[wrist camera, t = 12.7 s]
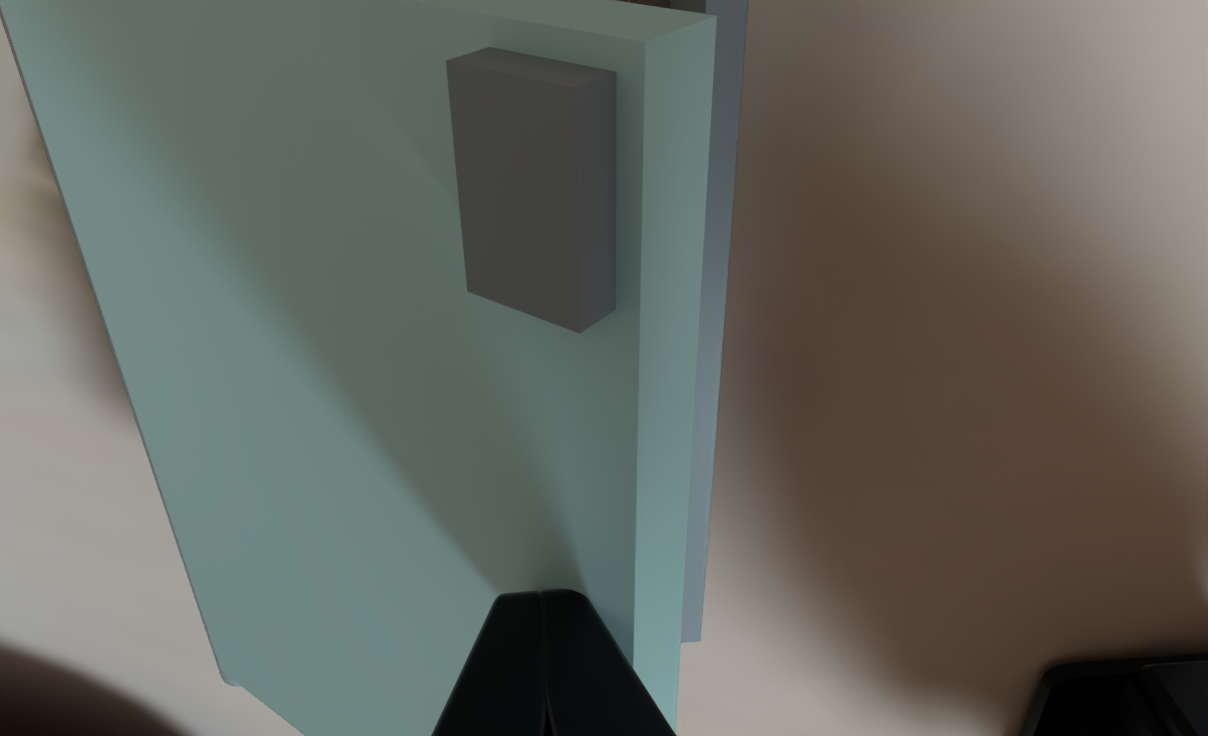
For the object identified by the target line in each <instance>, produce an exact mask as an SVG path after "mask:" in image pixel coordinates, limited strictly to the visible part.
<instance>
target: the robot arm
mask: <svg viewBox="0 0 1208 736" xmlns="http://www.w3.org/2000/svg"><path fill="white" fill-rule="evenodd" d="M431 736H676V734H675V733H674V731H673V729H672V728H671V726H670V725H669V723H668V722H667V720H666V718H665V717H664V715H663V714H662V712H661V711H660V709H659V708H658V706H657V704H656V703H655V701H654V700H653V698H652V697H651V695H650V694H649V692H648V690H647V689H646V687H645V686H644V684H643V683H642V681H641V680H640V678H639V676H638V675H637V673H636V672H635V670H634V669H633V667H632V666H631V664H630V662H629V661H628V659H627V658H626V656H625V655H624V653H623V651H622V650H621V648H620V647H619V645H618V644H617V642H616V641H615V639H614V637H613V636H612V634H611V633H610V631H609V630H608V628H607V627H606V625H605V623H604V622H603V620H602V619H601V617H600V616H599V614H598V613H597V611H596V609H595V608H594V606H593V605H592V603H591V602H590V600H589V599H588V598H587V597H586V596H584V595H583V594H581V593H579V592H577V591H574V590H570V589H564V588H561V589H548V590H542V591H540V592H538V591H524V592H512V593H503V594H500V595H499V596H497V598H496V599H495V600H494V602H493V604H492V606H491V608H490V610H489V612H488V615H487V617H486V619H485V621H484V623H483V625H482V627H481V630H480V632H479V634H478V636H477V638H476V640H475V642H474V644H473V647H472V649H471V651H470V653H469V655H468V657H467V659H466V662H465V664H464V666H463V668H462V670H461V672H460V674H459V677H458V679H457V681H456V683H455V685H454V687H453V689H452V692H451V694H450V696H449V698H448V700H447V702H446V704H445V707H444V709H443V711H442V713H441V715H440V717H439V719H438V722H437V724H436V726H435V728H434V730H433V732H432V734H431ZM1021 736H1208V654H1196V655H1182V656H1167V657H1153V658H1138V659H1124V660H1110V661H1095V662H1081V663H1067V664H1062V665H1058V666H1056V667H1053V668H1051V669H1050V670H1049V671H1047V672H1046V673H1045V674H1044V676H1043V677H1042V679H1041V682H1040V684H1039V687H1038V690H1037V692H1036V695H1035V698H1034V700H1033V703H1032V706H1031V709H1030V711H1029V714H1028V717H1027V719H1026V722H1025V725H1024V727H1023V730H1022V733H1021Z"/></svg>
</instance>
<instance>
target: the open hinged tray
mask: <svg viewBox="0 0 1208 736" xmlns="http://www.w3.org/2000/svg"><path fill="white" fill-rule="evenodd" d="M670 9H676V10H682V11H689V12H696V13H703V14H709V15H716V16H717V23H716V40H715V57H714V75H713V92H712V109H711V126H710V143H709V161H708V178H707V195H706V212H705V230H704V247H703V264H702V281H701V298H700V316H699V333H698V350H697V367H696V385H695V402H694V419H693V436H692V453H691V471H690V488H689V505H688V522H687V539H686V557H685V574H684V591H683V608H682V626H681V643H683V642H698V641H700V640H701V627H702V613H703V600H704V587H705V573H706V560H707V546H708V533H709V520H710V506H711V493H712V479H713V466H714V453H715V439H716V426H717V412H718V399H719V386H720V372H721V359H722V345H723V332H724V319H725V305H726V292H727V278H728V265H729V252H730V238H731V225H732V211H733V198H734V185H735V171H736V158H737V144H738V131H739V118H740V104H741V91H742V77H743V64H744V51H745V37H746V24H747V10H748V0H670Z"/></svg>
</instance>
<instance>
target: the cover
mask: <svg viewBox="0 0 1208 736" xmlns="http://www.w3.org/2000/svg"><path fill="white" fill-rule="evenodd" d="M0 17H1V20H2V22H3V26H4V29H5V32H6V35H7V38H8V41H9V44H10V47H11V50H12V53H13V56H14V59H15V62H16V65H17V68H18V71H19V74H20V77H21V80H22V83H23V86H24V89H25V92H26V95H27V98H28V101H29V104H30V107H31V110H32V113H33V116H34V119H35V122H36V125H37V128H38V131H39V134H40V137H41V140H42V142H43V145H44V148H45V151H46V154H47V157H48V160H49V163H50V166H51V169H52V172H53V175H54V178H55V181H56V184H57V187H58V190H59V193H60V196H61V199H62V202H63V205H64V208H65V211H66V214H67V217H68V220H69V223H70V226H71V229H72V232H73V235H74V238H75V241H76V244H77V247H78V250H79V253H80V256H81V259H82V262H83V265H84V268H85V271H86V274H87V277H88V280H89V283H90V286H91V289H92V292H93V295H94V298H95V301H96V304H97V307H98V310H99V313H100V316H101V319H102V322H103V325H104V328H105V331H106V334H107V337H108V340H109V343H110V346H111V349H112V352H113V355H114V358H115V361H116V364H117V367H118V370H119V373H120V376H121V379H122V382H123V385H124V388H125V391H126V394H127V396H128V399H129V402H130V405H131V408H132V411H133V414H134V417H135V420H136V423H137V426H138V429H139V432H140V435H141V438H142V441H143V444H144V447H145V450H146V453H147V456H148V459H149V462H150V465H151V468H152V471H153V474H154V477H155V480H156V483H157V486H158V489H159V492H160V495H161V498H162V501H163V504H164V507H165V510H166V513H167V516H168V519H169V522H170V525H171V528H172V531H173V534H174V537H175V540H176V543H177V546H178V549H179V552H180V555H181V558H182V561H183V564H184V567H185V570H186V573H187V576H188V579H189V582H190V585H191V588H192V591H193V594H194V597H195V600H196V603H197V606H198V609H199V612H200V615H201V618H202V621H203V624H204V627H205V630H206V633H207V636H208V639H209V642H210V645H211V648H212V650H213V653H214V656H215V659H216V662H217V665H218V668H219V671H220V674H221V677H222V679H223V681H224V682H225V683H227V684H229V685H232V686H242V687H243V688H245V689H246V690H247V691H249V692H250V693H251V694H252V695H254V696H255V697H256V698H258V699H259V700H260V701H261V702H263V703H264V704H265V705H266V706H268V707H269V708H270V709H272V710H273V711H274V712H275V713H277V714H278V715H279V716H281V717H282V718H283V719H284V720H286V721H287V722H288V723H290V724H291V725H292V726H293V727H295V728H296V729H297V730H298V731H300V732H301V733H302V734H304V735H305V736H431V734H432V732H433V730H434V728H435V726H436V724H437V722H438V719H439V717H440V715H441V713H442V711H443V709H444V707H445V704H446V702H447V700H448V698H449V696H450V694H451V692H452V689H453V687H454V685H455V683H456V681H457V679H458V677H459V674H460V672H461V670H462V668H463V666H464V664H465V662H466V659H467V657H468V655H469V653H470V651H471V649H472V647H473V644H474V642H475V640H476V638H477V636H478V634H479V632H480V630H481V627H482V625H483V623H484V621H485V619H486V617H487V615H488V612H489V610H490V608H491V606H492V604H493V602H494V600H495V599H496V598H497V596H499V595H500V594H503V593H512V592H524V591H538V592H540V591H542V590H548V589H561V588H564V589H570V590H574V591H577V592H579V593H581V594H583V595H584V596H586V597H587V598H588V599H589V600H590V602H591V603H592V605H593V606H594V608H595V609H596V611H597V613H598V614H599V616H600V617H601V619H602V620H603V622H604V623H605V625H606V627H607V628H608V630H609V631H610V633H611V634H612V636H613V637H614V639H615V641H616V642H617V644H618V645H619V647H620V648H621V650H622V651H623V653H624V655H625V656H626V658H627V659H628V661H629V662H630V664H631V666H632V667H633V669H634V670H635V672H636V673H637V675H638V676H639V678H640V680H641V681H642V683H643V684H644V686H645V687H646V689H647V690H648V692H649V694H650V695H651V697H652V698H653V700H654V701H655V703H656V704H657V706H658V708H659V709H660V711H661V712H662V714H663V715H664V717H665V718H666V720H667V722H668V723H669V725H670V726H671V728H672V729H673V731H674V733H675V729H676V712H677V694H678V677H679V660H680V643H681V626H682V608H683V591H684V574H685V557H686V539H687V522H688V505H689V488H690V471H691V453H692V436H693V419H694V402H695V385H696V367H697V350H698V333H699V316H700V298H701V281H702V264H703V247H704V230H705V212H706V195H707V178H708V161H709V143H710V126H711V109H712V92H713V75H714V57H715V40H716V23H717V16H716V15H709V14H703V13H696V12H689V11H682V10H676V9H669V8H662V7H656V6H649V5H642V4H636V3H629V2H622V1H616V0H0Z"/></svg>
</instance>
